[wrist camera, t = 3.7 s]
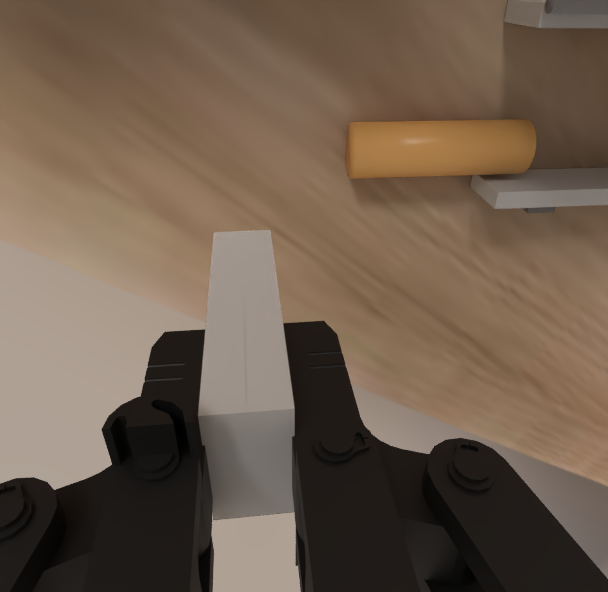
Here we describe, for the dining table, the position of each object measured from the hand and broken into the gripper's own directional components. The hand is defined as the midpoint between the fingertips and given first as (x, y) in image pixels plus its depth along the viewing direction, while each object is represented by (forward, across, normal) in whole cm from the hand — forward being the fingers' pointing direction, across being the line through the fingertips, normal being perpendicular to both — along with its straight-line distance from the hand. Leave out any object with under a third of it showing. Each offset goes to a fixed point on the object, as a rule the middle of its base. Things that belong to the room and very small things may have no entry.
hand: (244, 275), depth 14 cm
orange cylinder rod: (+16, +11, 0) cm, 19 cm away
